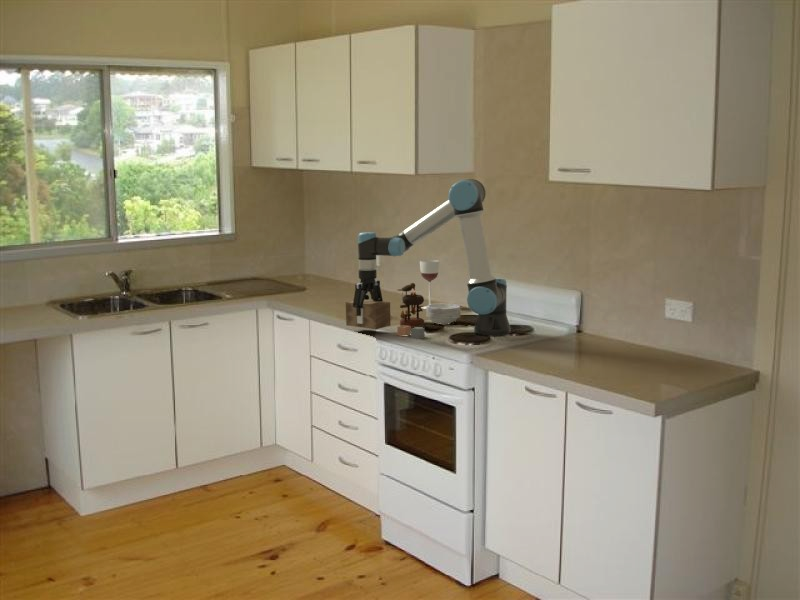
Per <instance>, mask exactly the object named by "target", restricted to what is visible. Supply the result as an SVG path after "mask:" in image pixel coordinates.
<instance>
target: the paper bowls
mask: <svg viewBox="0 0 800 600" xmlns="http://www.w3.org/2000/svg"><path fill="white" fill-rule="evenodd" d="M426 306H427V307H426V308H427V309H426V310H425V311H426V312H425V313H426V315H425V316H426V317H427V318H430V321H431V323H432V322H436V323H441V324H448V323H451V322H453V321H455V322H456V321H457V319H458V318H459V319H460V318H461V312H462V311H461V305H459V304H455V303H441V302H440V303H439V302H438V303H431V304H429V303H428V304H427V305H426ZM448 325H449V324H448Z"/></svg>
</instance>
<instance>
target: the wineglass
mask: <svg viewBox="0 0 800 600" xmlns="http://www.w3.org/2000/svg"><path fill="white" fill-rule="evenodd" d="M419 270H420V275H421V276H422V278H423V279H424V280H426V281H428V305H429V304H432V303H431V294H432V293H431V291H432V289H431V284H432V281H433V280H434V281H435V279H436V278H438V275H439V270H440V260H437V259H424V260H423V259H421V260H419ZM423 306H424V305H423ZM426 307H427V305H426V306H424V307H421V308H422V310H423V309H424V310H427V308H426Z"/></svg>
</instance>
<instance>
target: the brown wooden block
mask: <svg viewBox="0 0 800 600" xmlns="http://www.w3.org/2000/svg"><path fill="white" fill-rule="evenodd" d="M353 301H354V299H353V300H350V301H346V302H345V325H346V326H348V327H356V328H362V329H363V328H365V329H372V330H378V329H382V328H387V327H390V326H391V302H390V301H384V300H383V301H374V300H365V299H364V302H363V305H362V308H363V324H359V323H357V312H356V308H354V307H353ZM359 305H360V304H359Z"/></svg>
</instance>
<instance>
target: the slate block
mask: <svg viewBox="0 0 800 600" xmlns="http://www.w3.org/2000/svg"><path fill="white" fill-rule="evenodd" d="M425 330H426V329H425V327H424V328H423V327H414V328H411V335H410V338H411V337H414V338H413V339H417V340H418V339H423V338H425V336H426V335H425V334H426V333H425V332H426V331H425Z"/></svg>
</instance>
